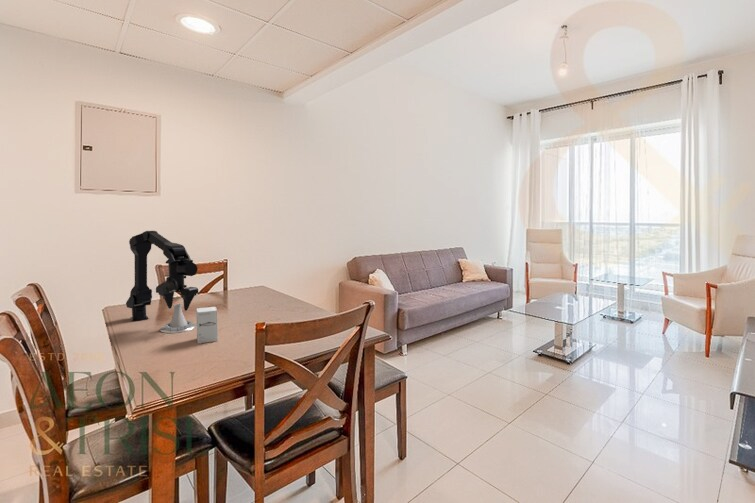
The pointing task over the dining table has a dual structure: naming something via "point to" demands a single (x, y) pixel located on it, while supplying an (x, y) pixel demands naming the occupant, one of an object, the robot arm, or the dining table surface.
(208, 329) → the supplement box
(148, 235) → the robot arm
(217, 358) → the dining table surface
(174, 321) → the flask
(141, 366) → the dining table surface
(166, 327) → the duct flange
